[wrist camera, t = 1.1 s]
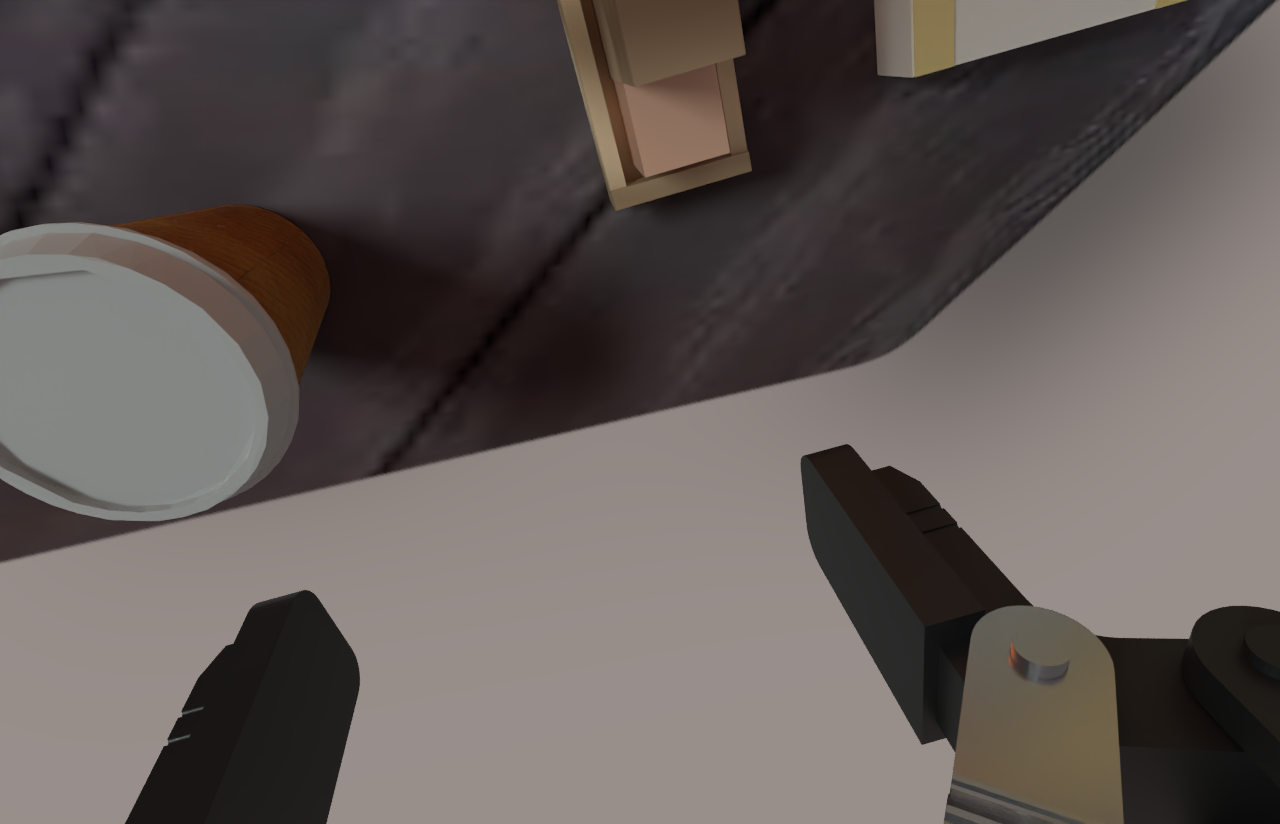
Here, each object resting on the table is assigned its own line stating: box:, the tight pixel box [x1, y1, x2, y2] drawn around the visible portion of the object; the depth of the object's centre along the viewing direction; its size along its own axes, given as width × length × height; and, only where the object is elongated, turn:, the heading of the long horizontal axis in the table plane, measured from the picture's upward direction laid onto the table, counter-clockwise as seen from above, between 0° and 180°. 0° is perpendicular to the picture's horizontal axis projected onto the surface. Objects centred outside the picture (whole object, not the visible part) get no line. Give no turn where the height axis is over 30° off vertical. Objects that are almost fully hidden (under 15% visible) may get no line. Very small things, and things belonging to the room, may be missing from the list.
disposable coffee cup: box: [0, 204, 330, 521], centre depth 24 cm, size 10×10×12 cm
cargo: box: [613, 64, 730, 178], centre depth 26 cm, size 3×3×3 cm
